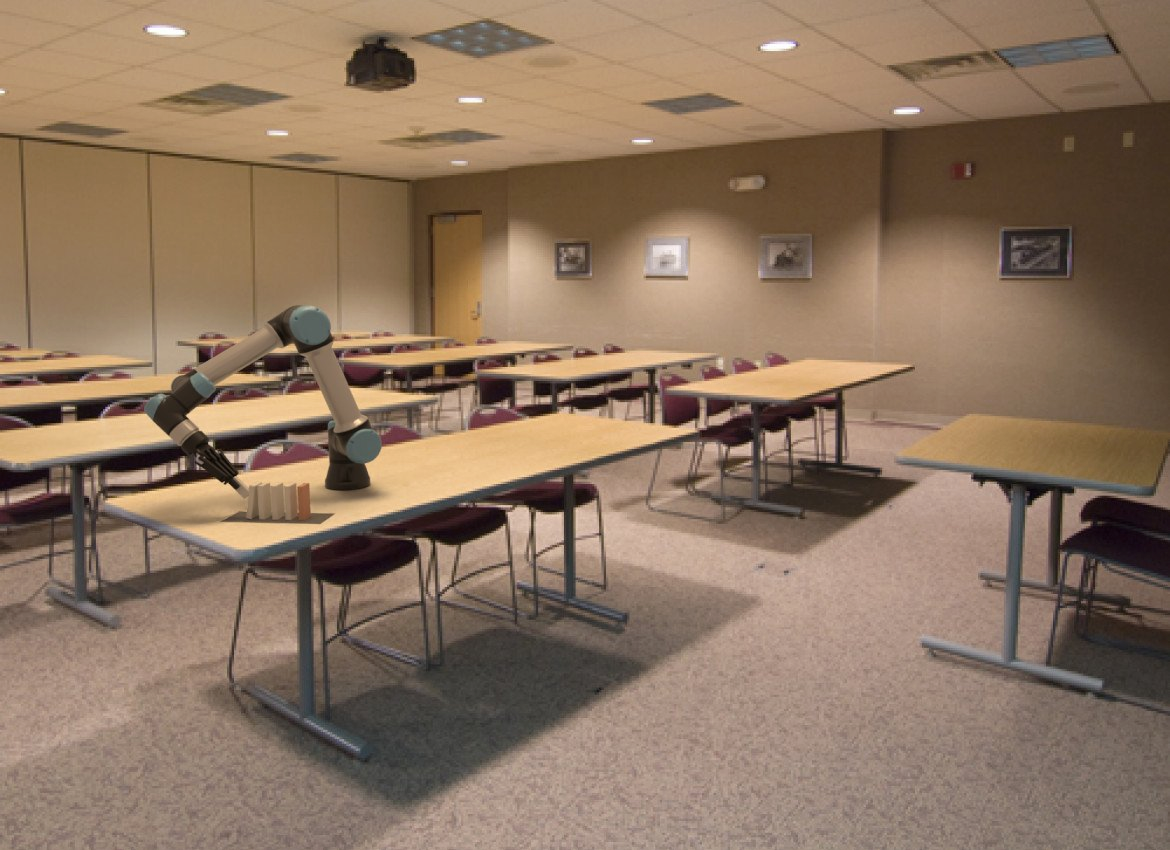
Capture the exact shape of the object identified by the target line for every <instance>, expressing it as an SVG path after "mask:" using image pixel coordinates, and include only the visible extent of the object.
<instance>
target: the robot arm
mask: <svg viewBox="0 0 1170 850" xmlns="http://www.w3.org/2000/svg"><path fill="white" fill-rule="evenodd" d="M331 328H332V324H331V321H330V318H329V317H328V315H327V313H325V312H324V310H322V309H320V308H319V307H317V306H315V305H296V304H295V305H291V306H289V307H287V308H286V309H285V310H283V311H281V312H280V313H279V314H277V315H276V316H274V317H273V318H271V319H270V320H268V321H266V322H265V323H264V326H263V327H262V328H260V329H258V330H257V331H256V332H254V333H252V334H250V335H249V336H247V337H246V338H244V339H242V340H240V341H239V342H237V343H236V344H234V345H232V346H230V347H229V348H227V349H225V350H224V351H221V352H220V353H219V354H217V355H215V356H213V357H212V358H210V359H208V360H207V361H205V362H203V363H202V364H200V365H198V366H197V367H195V368H194V369H192V370H189V371H188V372H187V373H185V374H181V375H178V376H175V378H174V379H173V380H172V382H171V384H170V389H171V393H170V394H168V395H166V394H164V393H157V394H156V395H154V396H153V397H151V398H150V399H148V401H147V402H146V403H145V405H144V408H143V412H144V413H145V414H146V415H147V417H148V418H149V419H150V420H152V422H153V423H155V425H156V426H157V427H158V428H159V429H160V430H161V431H163V432H164V434H166V435H167V436H168V438H170V439H171V440H172V442H173V443H175V444H176V445H177V446H179V447H180V449H181V450H182V451H183V452H184V453H185V454H186V455H187V456H188V457H193V456H194V458H195V461H194V464H195V465H197V466H199V467H200V468H201V469H203V470H204V471H206V472H207V473H208V474H210V475H211V476H212V477H214V479H216V480H217V481H219V483H221V484H223V485H227V484H228V485H229V486H231V488H233V489H234V491H236V493H238V495H240V497H242V498H243V500H244V499H248V493H249V486H247V485H246V484H245V482H244V481H242V479H241V478H239V476H238V475H239V473H240V472H239V471H238V469H237V468H236V467H235V466H234V465H233V464H232V462H231V461H230V460H229V459H228V457H227V456H226V455H225V452H224V451H223V450H222V449H221V448H219V449H217V450H216V449H215V448H214V446H212V445H211V444H209V441H210V438H209V437H208V436H207V434H205V433H204V432H203V431H202V430H200V427H198V426H197V425H196V424H195V423H194V422H193V420H191V419H190V418H189V417H188V416H187V415H189V414H190V413H191V412H192V411H193V410H194V409H196V408H197V407H199V405H201V404H202V403H203V402H204V401H206V400H207V399H208V398H210V396H211V395H212V394H213V393H215V392H216V390H217V388H216V385H218V384H220V383H221V382H223V381H225V380H226V379H228V378H229V377H231V376H233V375H234V374H236V373H238V372H239V371H241V370H243V369H244V368H246V367H248V366H250V365H251V364H253V363H255V362H256V361H257V360H258V361H259V360H260V359H261V358H263V357H264V356H266V355H267V354H270V353H271V352H273V351H274V350H276V349H284V348H286V347H287V346H289V345H292V344H294V346H295V349H296V350H297V353H298V354H299V355H300V356H303V357H304V358H306V361H307V363H308V365H309V367H310V370H311V372H312V374H313V377H314V379H315V381H316V383H317V385H318V387H319V389H320V391H321V395H322V397H323V399H324V401H325V403H326V405H327V409H328V410H329V413H330V414H331V416H332V419H333V420H329V422H327V429H326V430H327V438H328V439H327V440H328V457H329V458H328V460H329V461H328V463H329V465H328V469H327V472H326V477H325V479H324V487H325V489H326V488H327V489H330V490H336V491H338V490H339V491H343V490H344V491H345V490H346V491H348V490H357V489H363V488H366V487H369V486H370V485H371V477H370V475H369V471H368V468H367V466H366V464H369V463H371V462H373V461H374V460H376V459H377V457H378V456H379V455H380V453H381V450H382V446H383V443H382V438H381V436H380V435H379V433H378V432H377V431H375V430H374V429H373V427H372V425H371V424H372V423H371V422H370V420H369V418H368V416H367V415H364V414H362V413H361V412H360V409H359V406H358V405H357V403H356V402H357V401H356V400H355V397H354V395H353V393H352V391H351V389H350V386H349V383H348V381H347V379H346V377H345V376H346V375H344V372H343V369H342V368H341V365H340V363H339V361H338V358H337V356H336V354H335V352H334V350H333V344H334V342H335V339H334V338H333V335H332V333H331V330H332V329H331Z"/></svg>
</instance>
